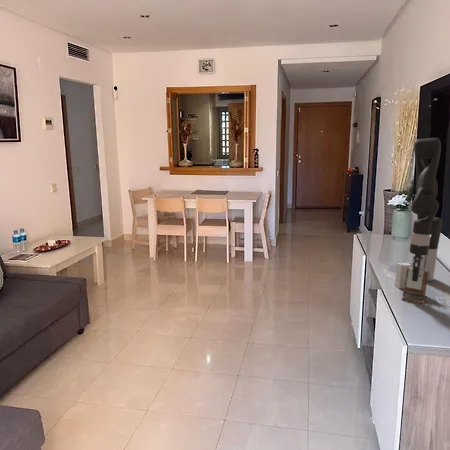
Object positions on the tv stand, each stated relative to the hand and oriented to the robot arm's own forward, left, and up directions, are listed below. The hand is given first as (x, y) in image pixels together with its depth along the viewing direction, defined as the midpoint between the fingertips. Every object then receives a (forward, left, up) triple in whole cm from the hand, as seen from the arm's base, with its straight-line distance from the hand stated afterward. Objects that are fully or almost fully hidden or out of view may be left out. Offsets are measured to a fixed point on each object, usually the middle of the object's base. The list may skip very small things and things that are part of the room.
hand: (414, 280), depth 184 cm
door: (0, 0, -4) cm, 4 cm away
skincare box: (-15, -6, -10) cm, 19 cm away
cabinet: (-4, 0, -9) cm, 10 cm away
